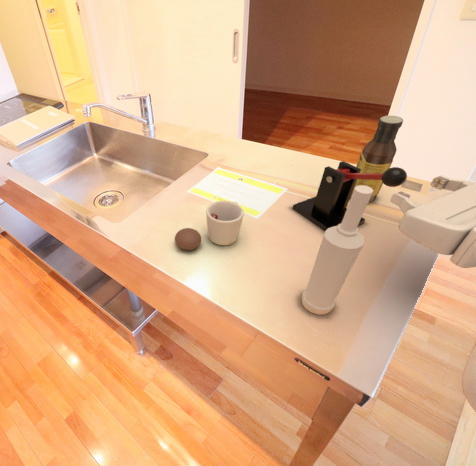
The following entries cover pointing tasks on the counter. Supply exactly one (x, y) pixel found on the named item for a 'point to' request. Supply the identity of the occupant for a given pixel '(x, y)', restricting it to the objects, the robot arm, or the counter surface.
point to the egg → (188, 238)
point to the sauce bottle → (379, 152)
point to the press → (330, 198)
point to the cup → (224, 221)
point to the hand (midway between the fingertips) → (415, 187)
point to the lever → (379, 176)
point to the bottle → (336, 256)
